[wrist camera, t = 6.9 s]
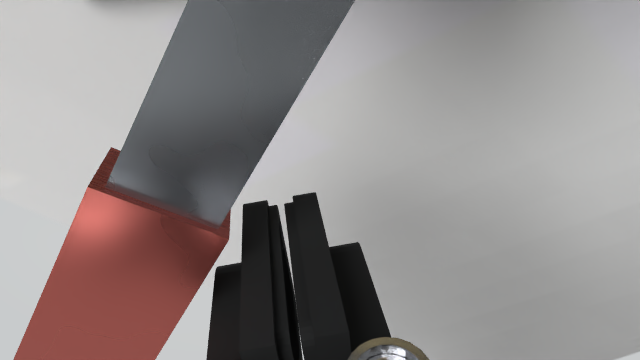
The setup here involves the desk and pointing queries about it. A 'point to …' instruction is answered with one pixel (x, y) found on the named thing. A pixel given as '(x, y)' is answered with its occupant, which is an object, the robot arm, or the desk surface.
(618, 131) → the desk surface
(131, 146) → the lever
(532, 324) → the desk surface
